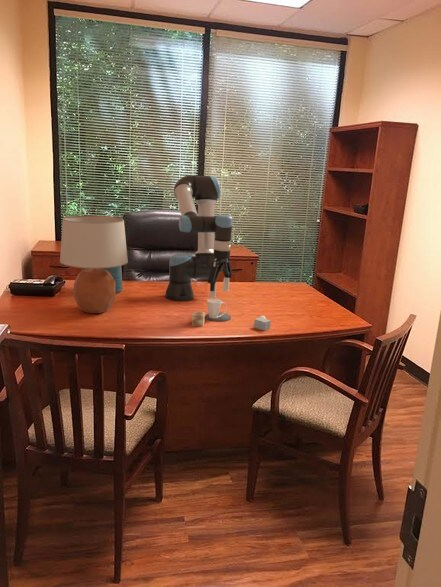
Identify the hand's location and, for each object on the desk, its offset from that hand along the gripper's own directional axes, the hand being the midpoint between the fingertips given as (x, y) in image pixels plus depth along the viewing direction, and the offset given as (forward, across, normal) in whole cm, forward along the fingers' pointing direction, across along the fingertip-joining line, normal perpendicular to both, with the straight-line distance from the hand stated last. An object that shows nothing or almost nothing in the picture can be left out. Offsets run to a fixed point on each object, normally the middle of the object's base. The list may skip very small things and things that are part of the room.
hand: (219, 294), depth 226 cm
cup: (+11, -2, -1) cm, 11 cm away
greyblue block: (+11, -3, -24) cm, 26 cm away
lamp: (+12, -27, +51) cm, 59 cm away
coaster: (+11, -1, 0) cm, 11 cm away
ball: (+11, +2, -22) cm, 24 cm away
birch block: (+11, -15, +2) cm, 19 cm away
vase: (+13, +5, +70) cm, 72 cm away
